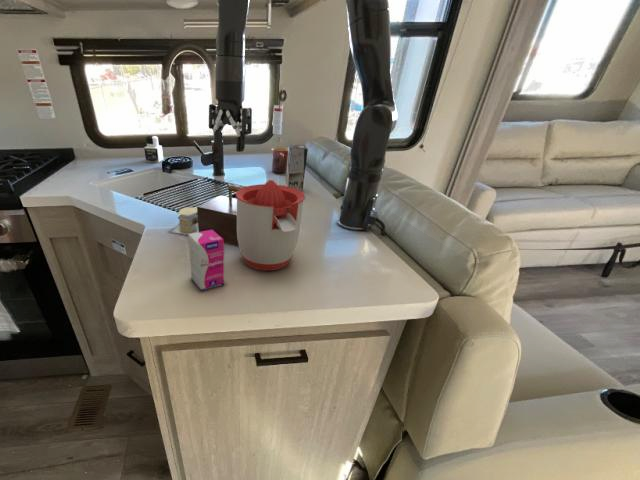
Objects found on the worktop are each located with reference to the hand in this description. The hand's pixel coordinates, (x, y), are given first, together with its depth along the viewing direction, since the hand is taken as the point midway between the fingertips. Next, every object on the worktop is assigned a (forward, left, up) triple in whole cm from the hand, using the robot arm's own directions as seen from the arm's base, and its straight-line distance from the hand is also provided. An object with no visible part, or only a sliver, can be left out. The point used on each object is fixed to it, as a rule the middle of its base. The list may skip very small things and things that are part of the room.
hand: (229, 149), depth 91 cm
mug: (+12, -66, -22) cm, 70 cm away
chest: (-5, +8, -22) cm, 23 cm away
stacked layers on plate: (+8, +10, -22) cm, 25 cm away
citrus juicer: (-22, +17, -22) cm, 36 cm away
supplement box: (-15, +33, -22) cm, 42 cm away
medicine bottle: (+79, -53, -22) cm, 98 cm away
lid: (-5, +7, -14) cm, 16 cm away
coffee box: (-4, -45, -22) cm, 50 cm away
